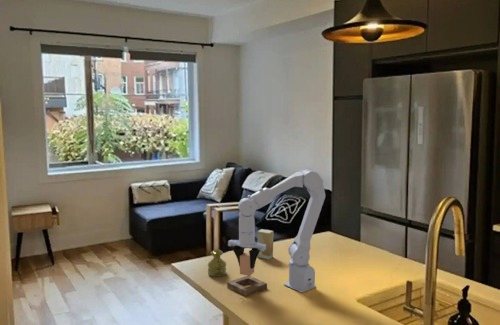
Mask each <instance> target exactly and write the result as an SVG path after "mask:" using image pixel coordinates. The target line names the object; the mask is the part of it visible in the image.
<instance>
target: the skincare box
mask: <svg viewBox="0 0 500 325" xmlns="http://www.w3.org/2000/svg"><path fill="white" fill-rule="evenodd" d="M274 234H275V232H274V230H270V229H263V228H261V229H259V230H258V231H257V241H256V242H258V243H261V244H266V250H265V251H262V250H260V252H259V254H258V256H257V258H258V259H265V260H271V259H272V258H273V257H274Z"/></svg>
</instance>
